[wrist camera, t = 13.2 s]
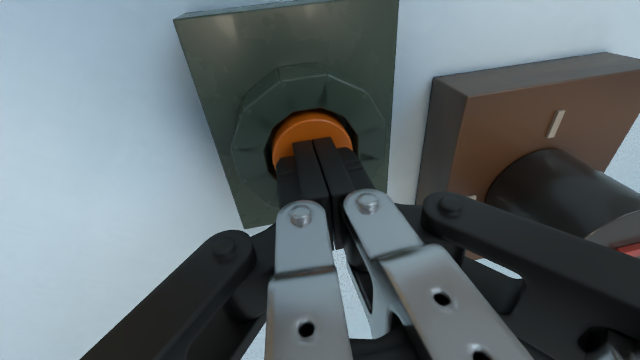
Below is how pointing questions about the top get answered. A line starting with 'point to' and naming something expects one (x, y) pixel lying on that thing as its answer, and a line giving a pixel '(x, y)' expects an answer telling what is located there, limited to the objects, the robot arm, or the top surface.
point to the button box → (291, 83)
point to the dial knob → (570, 199)
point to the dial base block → (525, 119)
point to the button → (307, 131)
